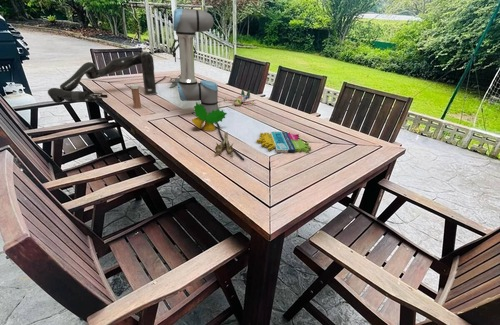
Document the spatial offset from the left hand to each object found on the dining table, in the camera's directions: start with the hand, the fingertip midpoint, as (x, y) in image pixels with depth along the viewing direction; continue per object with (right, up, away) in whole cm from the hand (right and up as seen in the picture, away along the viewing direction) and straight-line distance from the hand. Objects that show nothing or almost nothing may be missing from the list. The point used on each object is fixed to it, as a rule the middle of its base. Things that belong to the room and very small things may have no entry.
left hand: (104, 97), depth 186 cm
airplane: (+34, +33, +76) cm, 90 cm away
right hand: (+50, +36, +25) cm, 66 cm away
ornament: (+78, -25, -21) cm, 85 cm away
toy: (+96, +5, +35) cm, 103 cm away
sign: (+122, -35, -33) cm, 131 cm away
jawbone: (+90, -40, -47) cm, 109 cm away
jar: (+21, -6, +6) cm, 22 cm away
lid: (+22, +8, -2) cm, 24 cm away
